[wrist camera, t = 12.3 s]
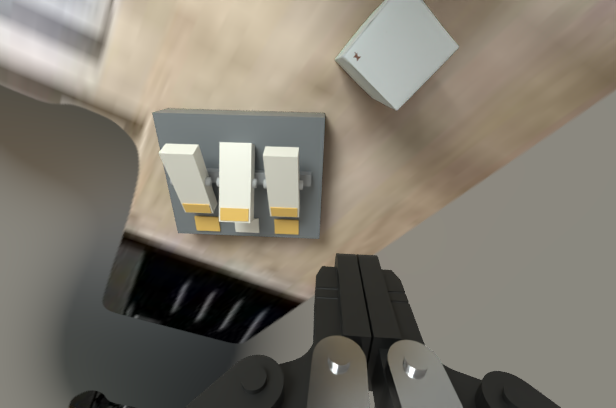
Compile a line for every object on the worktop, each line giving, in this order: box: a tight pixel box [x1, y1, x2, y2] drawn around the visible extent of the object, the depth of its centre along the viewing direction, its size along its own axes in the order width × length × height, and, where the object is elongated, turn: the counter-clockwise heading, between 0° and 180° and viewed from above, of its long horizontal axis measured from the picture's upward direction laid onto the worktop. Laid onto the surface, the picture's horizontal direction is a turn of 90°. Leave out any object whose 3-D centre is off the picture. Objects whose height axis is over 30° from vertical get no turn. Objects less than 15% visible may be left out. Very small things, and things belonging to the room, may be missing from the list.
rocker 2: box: [263, 146, 303, 217], centre depth 36 cm, size 10×5×2 cm, turn 178°
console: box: [152, 108, 325, 239], centre depth 40 cm, size 18×22×5 cm
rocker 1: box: [159, 144, 217, 213], centre depth 36 cm, size 10×5×2 cm, turn 178°
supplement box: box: [335, 0, 459, 110], centre depth 30 cm, size 7×7×13 cm
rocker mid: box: [216, 142, 257, 223], centre depth 36 cm, size 10×5×2 cm, turn 179°
